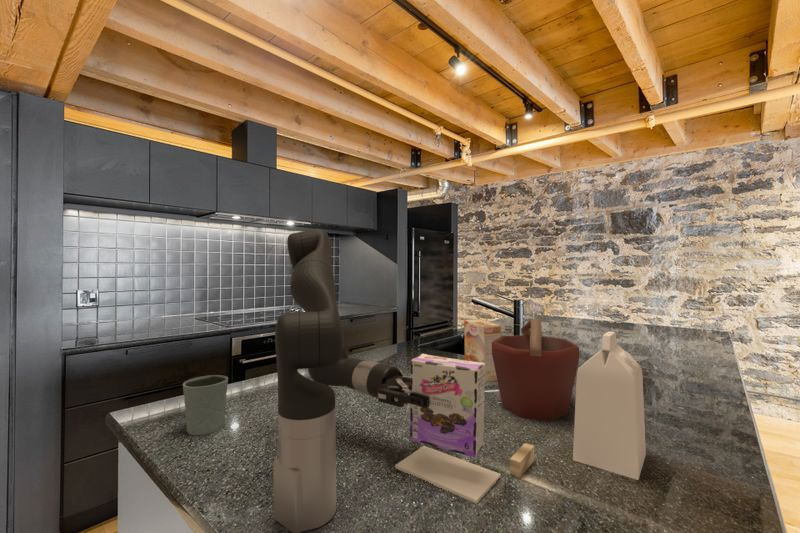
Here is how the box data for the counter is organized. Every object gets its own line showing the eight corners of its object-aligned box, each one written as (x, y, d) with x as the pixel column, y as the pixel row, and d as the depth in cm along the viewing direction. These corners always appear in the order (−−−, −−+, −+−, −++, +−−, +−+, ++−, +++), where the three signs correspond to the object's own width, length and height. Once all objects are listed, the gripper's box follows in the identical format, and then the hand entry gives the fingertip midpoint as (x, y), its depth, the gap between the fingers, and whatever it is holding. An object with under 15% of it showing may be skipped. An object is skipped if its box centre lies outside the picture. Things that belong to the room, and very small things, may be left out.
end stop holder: (520, 477, 70) (519, 462, 70) (432, 446, 83) (432, 432, 83) (534, 460, 76) (534, 445, 76) (451, 433, 89) (451, 420, 89)
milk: (586, 438, 86) (586, 327, 86) (645, 454, 78) (645, 332, 78) (572, 460, 76) (572, 335, 76) (638, 480, 69) (637, 342, 69)
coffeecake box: (464, 370, 141) (463, 319, 141) (480, 368, 143) (480, 318, 143) (484, 382, 127) (483, 325, 127) (502, 380, 129) (501, 324, 129)
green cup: (178, 439, 88) (177, 388, 87) (190, 421, 97) (189, 376, 97) (224, 433, 90) (223, 384, 90) (231, 416, 100) (231, 372, 100)
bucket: (508, 388, 120) (507, 312, 120) (583, 401, 109) (583, 316, 109) (484, 415, 99) (483, 323, 99) (574, 434, 88) (574, 330, 87)
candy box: (408, 440, 74) (409, 358, 73) (421, 429, 79) (422, 352, 79) (475, 459, 67) (476, 369, 67) (484, 445, 72) (485, 361, 72)
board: (476, 504, 63) (476, 500, 63) (395, 468, 74) (395, 465, 74) (500, 477, 71) (500, 474, 71) (423, 448, 82) (423, 445, 82)
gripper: (353, 371, 78) (417, 388, 68) (396, 356, 89) (456, 370, 79) (354, 406, 78) (417, 428, 68) (396, 387, 90) (456, 404, 79)
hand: (438, 397), depth 73 cm, fingers closed on candy box, 6 cm apart
